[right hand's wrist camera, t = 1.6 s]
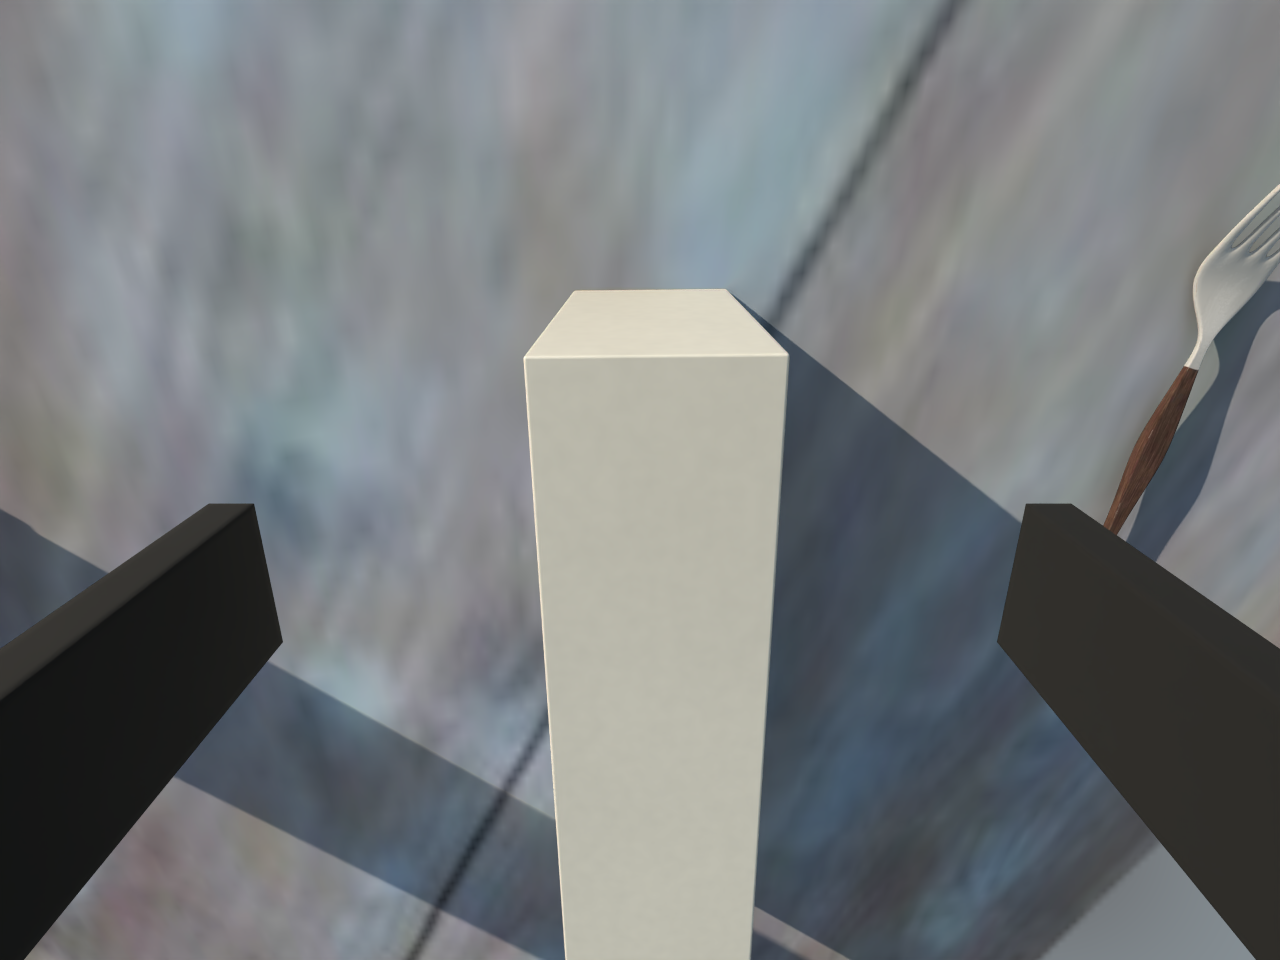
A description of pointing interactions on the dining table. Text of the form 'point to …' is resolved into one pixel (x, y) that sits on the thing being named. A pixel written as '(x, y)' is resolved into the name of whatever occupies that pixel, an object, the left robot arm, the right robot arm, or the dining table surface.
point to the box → (657, 611)
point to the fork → (1199, 346)
